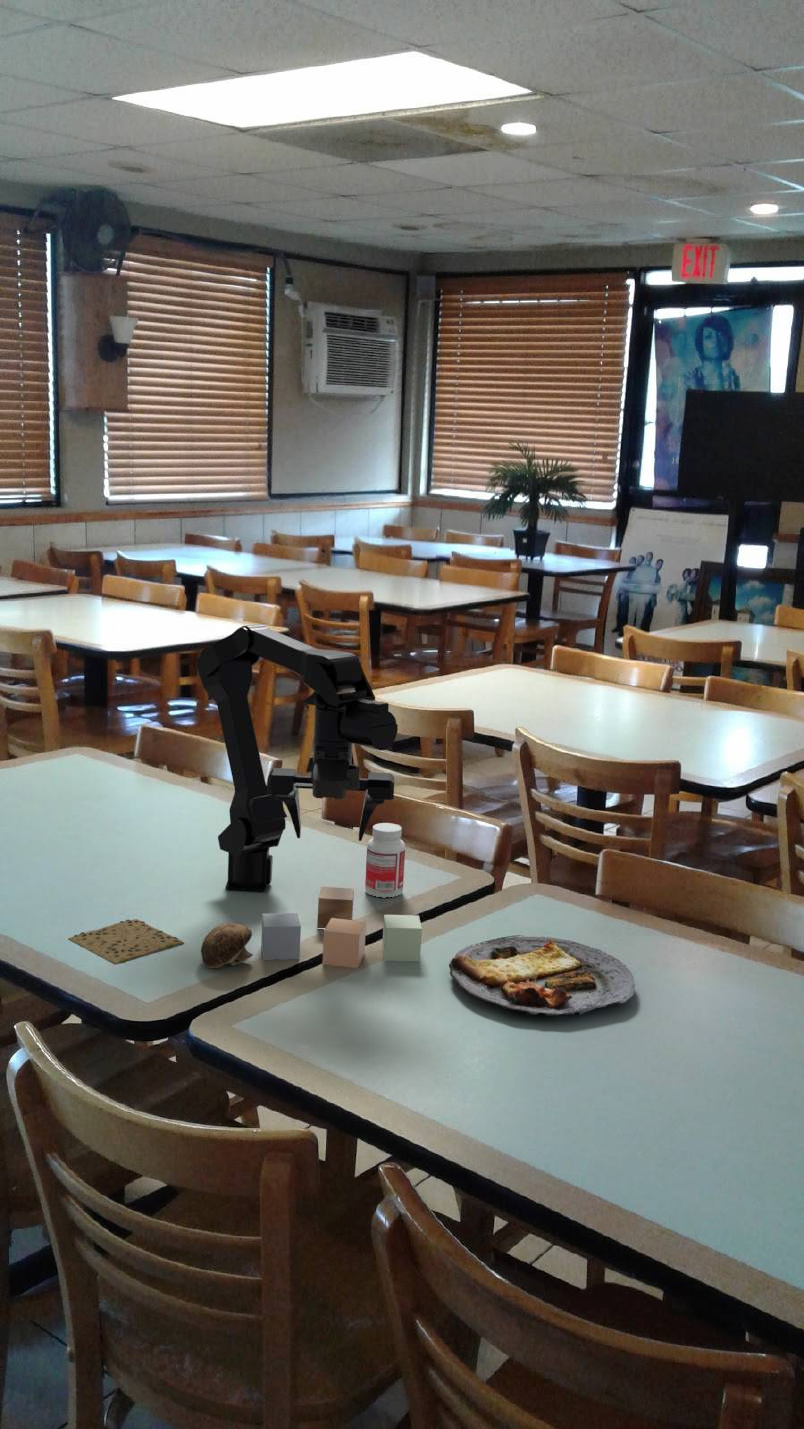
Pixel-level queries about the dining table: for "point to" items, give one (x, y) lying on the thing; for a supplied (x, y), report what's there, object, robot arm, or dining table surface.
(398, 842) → the pill bottle
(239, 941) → the mushroom
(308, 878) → the dining table surface
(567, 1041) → the dining table surface
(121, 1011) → the dining table surface
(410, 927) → the sage cube
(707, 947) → the dining table surface
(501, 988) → the food plate
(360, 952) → the terracotta cube
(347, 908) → the walnut cube
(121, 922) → the cookie
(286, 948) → the slate cube
